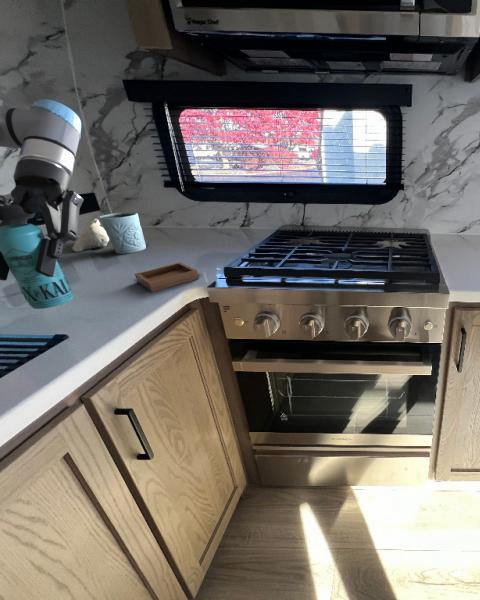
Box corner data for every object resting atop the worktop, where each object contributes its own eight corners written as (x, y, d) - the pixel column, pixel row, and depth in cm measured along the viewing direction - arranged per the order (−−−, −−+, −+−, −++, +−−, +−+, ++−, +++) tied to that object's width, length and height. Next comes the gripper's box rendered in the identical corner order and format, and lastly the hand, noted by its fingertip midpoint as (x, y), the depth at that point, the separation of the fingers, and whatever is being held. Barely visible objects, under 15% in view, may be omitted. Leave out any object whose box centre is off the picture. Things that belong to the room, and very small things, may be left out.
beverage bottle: (36, 307, 66) (-22, 205, 57) (79, 298, 70) (32, 201, 61) (31, 320, 62) (-32, 211, 53) (78, 309, 65) (27, 205, 57)
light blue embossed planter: (112, 249, 115) (98, 215, 110) (147, 243, 121) (135, 210, 116) (115, 256, 108) (99, 219, 103) (152, 249, 114) (139, 214, 109)
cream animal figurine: (100, 258, 113) (124, 223, 119) (73, 246, 108) (100, 210, 113) (90, 264, 122) (113, 231, 128) (65, 253, 117) (89, 219, 123)
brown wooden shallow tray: (137, 281, 88) (134, 273, 87) (182, 269, 95) (180, 262, 94) (152, 292, 81) (148, 283, 80) (199, 278, 89) (196, 270, 88)
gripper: (113, 181, 71) (98, 279, 64) (6, 184, 68) (-23, 288, 61) (86, 155, 64) (66, 262, 57) (-34, 157, 61) (-72, 271, 54)
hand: (20, 275), depth 59 cm, fingers closed on beverage bottle, 7 cm apart
